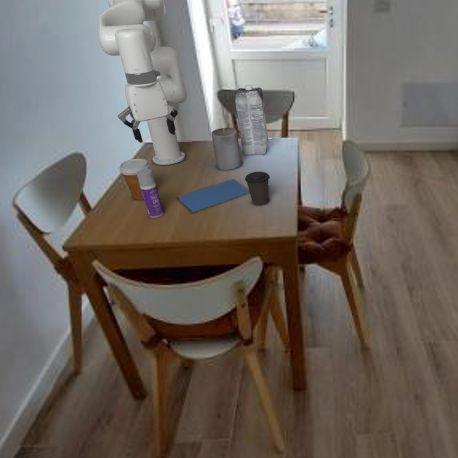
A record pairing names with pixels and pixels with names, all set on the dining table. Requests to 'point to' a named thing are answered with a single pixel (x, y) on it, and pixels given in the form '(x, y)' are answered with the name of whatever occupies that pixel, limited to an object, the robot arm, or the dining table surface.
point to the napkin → (212, 195)
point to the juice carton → (251, 120)
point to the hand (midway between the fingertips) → (156, 137)
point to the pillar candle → (226, 148)
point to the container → (150, 193)
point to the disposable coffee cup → (133, 175)
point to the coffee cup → (258, 187)
